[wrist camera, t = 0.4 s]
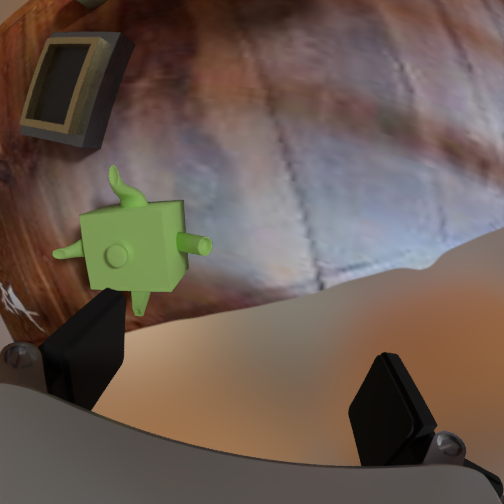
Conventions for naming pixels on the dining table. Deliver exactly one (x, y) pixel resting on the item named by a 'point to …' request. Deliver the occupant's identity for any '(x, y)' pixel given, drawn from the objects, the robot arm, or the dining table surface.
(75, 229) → the dining table surface
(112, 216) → the kettle
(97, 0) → the pale green cup
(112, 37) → the toy stove
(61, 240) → the dining table surface
